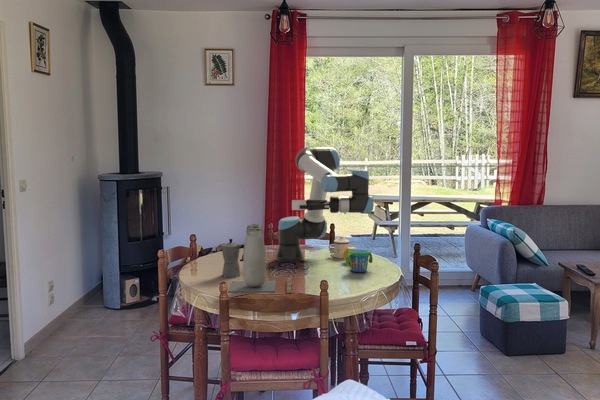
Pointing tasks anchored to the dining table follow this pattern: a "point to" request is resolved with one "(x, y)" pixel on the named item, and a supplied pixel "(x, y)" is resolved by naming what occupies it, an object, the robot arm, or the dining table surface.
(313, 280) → the dining table surface
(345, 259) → the dumbbell
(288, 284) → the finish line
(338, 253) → the teacup with lid
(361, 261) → the snack cup
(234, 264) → the coffeepot
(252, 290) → the mat
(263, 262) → the grey green rounded cylinder
